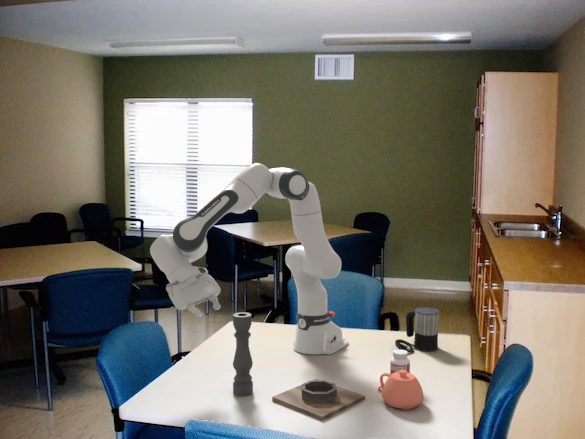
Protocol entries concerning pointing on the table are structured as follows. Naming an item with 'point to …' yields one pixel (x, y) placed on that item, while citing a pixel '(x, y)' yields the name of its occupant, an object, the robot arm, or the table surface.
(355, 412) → the table surface
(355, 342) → the table surface
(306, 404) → the candle dish
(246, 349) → the candle holder
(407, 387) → the sugar bowl
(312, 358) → the table surface
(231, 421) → the table surface
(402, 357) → the pill bottle
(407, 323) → the milk frother
